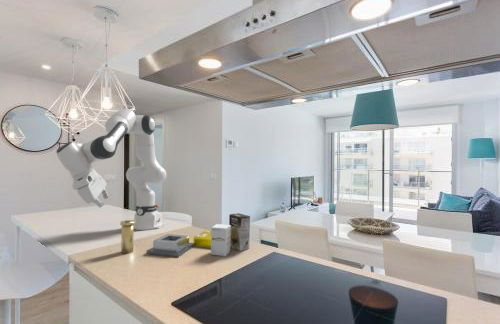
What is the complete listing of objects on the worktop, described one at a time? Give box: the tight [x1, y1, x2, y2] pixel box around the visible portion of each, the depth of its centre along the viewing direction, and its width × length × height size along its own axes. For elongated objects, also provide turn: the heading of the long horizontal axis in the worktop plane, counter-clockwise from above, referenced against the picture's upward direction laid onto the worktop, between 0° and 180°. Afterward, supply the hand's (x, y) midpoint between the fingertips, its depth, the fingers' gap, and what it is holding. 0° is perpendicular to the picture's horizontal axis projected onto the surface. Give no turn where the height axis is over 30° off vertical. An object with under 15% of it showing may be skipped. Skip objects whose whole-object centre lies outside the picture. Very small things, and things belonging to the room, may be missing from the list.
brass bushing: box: [120, 219, 135, 255], centre depth 118 cm, size 6×6×14 cm
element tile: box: [192, 230, 211, 249], centre depth 134 cm, size 15×15×5 cm
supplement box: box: [210, 223, 231, 257], centre depth 118 cm, size 7×7×13 cm
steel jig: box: [146, 233, 195, 258], centre depth 122 cm, size 16×16×6 cm
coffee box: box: [228, 212, 251, 252], centre depth 127 cm, size 9×6×16 cm
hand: (104, 201), depth 118 cm, fingers open, 8 cm apart
